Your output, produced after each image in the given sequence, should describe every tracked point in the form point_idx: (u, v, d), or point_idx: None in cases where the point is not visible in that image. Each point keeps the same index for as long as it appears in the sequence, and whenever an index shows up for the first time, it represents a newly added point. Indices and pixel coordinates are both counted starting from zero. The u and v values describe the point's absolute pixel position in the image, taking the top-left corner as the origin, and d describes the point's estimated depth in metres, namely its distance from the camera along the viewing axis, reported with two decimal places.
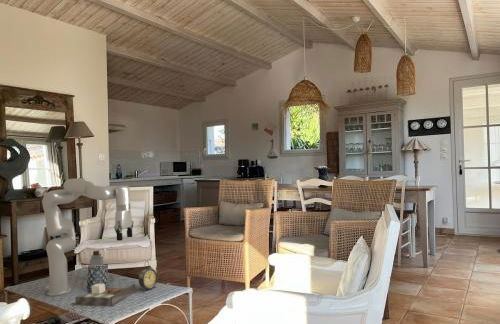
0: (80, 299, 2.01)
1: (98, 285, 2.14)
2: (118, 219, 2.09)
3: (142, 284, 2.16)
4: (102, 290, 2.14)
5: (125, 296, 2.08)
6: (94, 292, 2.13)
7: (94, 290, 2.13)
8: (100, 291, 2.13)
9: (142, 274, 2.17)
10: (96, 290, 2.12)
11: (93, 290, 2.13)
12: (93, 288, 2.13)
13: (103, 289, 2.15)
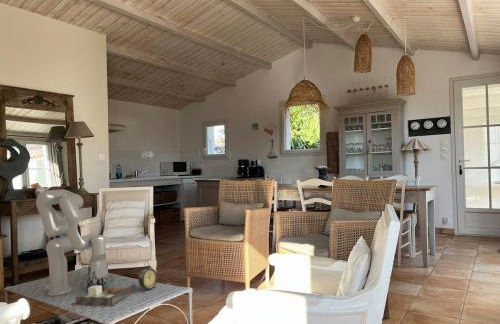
0: (80, 299, 2.01)
1: (95, 287, 2.11)
2: (93, 270, 2.12)
3: (142, 284, 2.16)
4: (99, 292, 2.11)
5: (125, 296, 2.08)
6: (91, 294, 2.09)
7: (90, 292, 2.10)
8: (97, 293, 2.10)
9: (142, 274, 2.17)
10: (92, 292, 2.09)
11: (89, 292, 2.10)
12: (90, 290, 2.10)
13: (100, 291, 2.12)
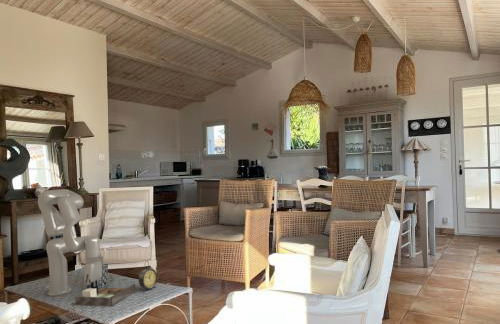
0: (80, 299, 2.01)
1: (89, 290, 2.06)
2: (87, 272, 2.07)
3: (142, 284, 2.16)
4: (93, 295, 2.06)
5: (125, 296, 2.08)
6: None
7: (84, 296, 2.04)
8: (91, 296, 2.04)
9: (142, 274, 2.17)
10: (87, 295, 2.04)
11: (83, 295, 2.05)
12: (84, 293, 2.05)
13: (94, 294, 2.07)
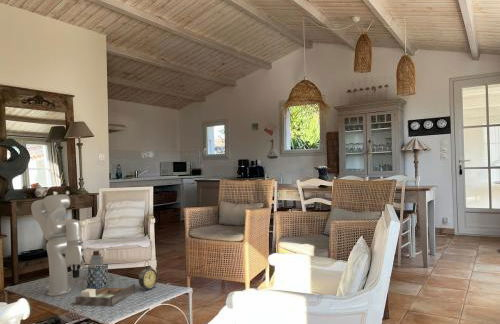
0: (80, 299, 2.01)
1: (88, 290, 2.05)
2: None
3: (142, 284, 2.16)
4: (92, 296, 2.05)
5: (125, 296, 2.08)
6: None
7: (83, 296, 2.04)
8: None
9: (142, 274, 2.17)
10: (86, 296, 2.03)
11: (82, 296, 2.04)
12: (83, 294, 2.04)
13: (93, 294, 2.06)
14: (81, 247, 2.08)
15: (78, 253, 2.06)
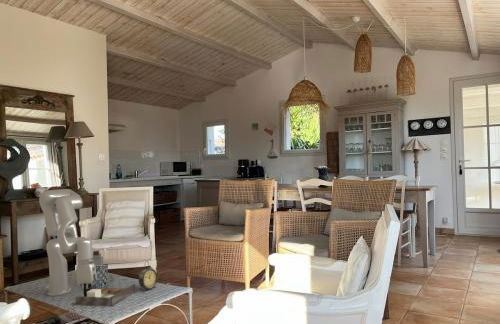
0: (80, 299, 2.01)
1: (94, 291, 2.04)
2: None
3: (142, 284, 2.16)
4: (98, 296, 2.04)
5: (125, 296, 2.08)
6: None
7: (89, 296, 2.03)
8: None
9: (142, 274, 2.17)
10: (91, 296, 2.02)
11: (88, 296, 2.03)
12: (88, 294, 2.03)
13: (99, 295, 2.05)
14: (92, 266, 2.06)
15: (89, 272, 2.04)
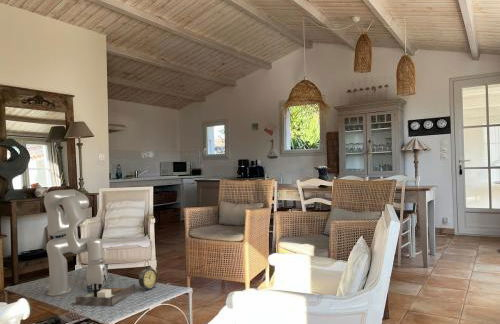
0: (80, 299, 2.01)
1: (104, 291, 2.02)
2: None
3: (142, 284, 2.16)
4: (108, 296, 2.03)
5: (125, 296, 2.08)
6: None
7: None
8: None
9: (142, 274, 2.17)
10: (101, 296, 2.01)
11: (98, 296, 2.01)
12: (98, 294, 2.01)
13: (109, 295, 2.04)
14: (103, 266, 2.04)
15: (100, 272, 2.02)
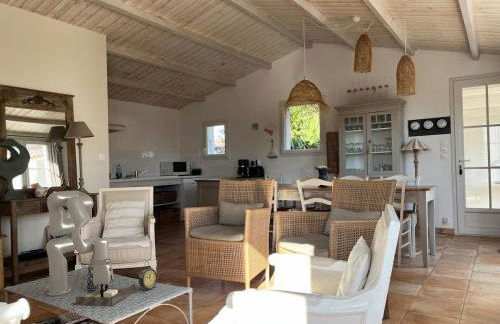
0: (80, 299, 2.01)
1: (110, 291, 2.01)
2: None
3: (142, 284, 2.16)
4: None
5: (125, 296, 2.08)
6: None
7: None
8: None
9: (142, 274, 2.17)
10: (108, 297, 2.00)
11: None
12: (105, 295, 2.00)
13: None
14: (109, 266, 2.03)
15: (106, 273, 2.01)
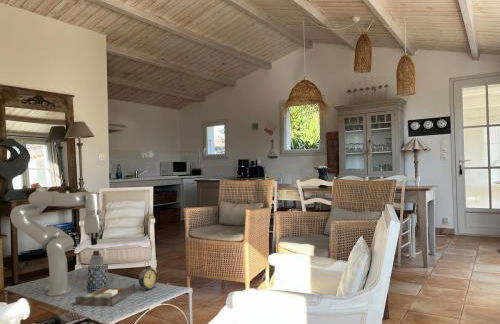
0: (80, 299, 2.01)
1: (110, 291, 2.01)
2: None
3: (142, 284, 2.16)
4: None
5: (125, 296, 2.08)
6: None
7: None
8: None
9: (142, 274, 2.17)
10: (108, 297, 2.00)
11: None
12: (105, 295, 2.00)
13: None
14: (99, 217, 2.22)
15: (96, 222, 2.21)
